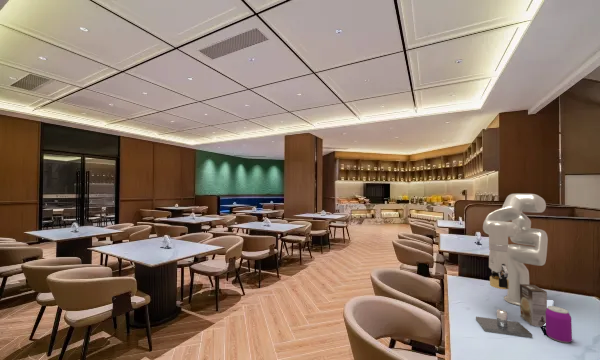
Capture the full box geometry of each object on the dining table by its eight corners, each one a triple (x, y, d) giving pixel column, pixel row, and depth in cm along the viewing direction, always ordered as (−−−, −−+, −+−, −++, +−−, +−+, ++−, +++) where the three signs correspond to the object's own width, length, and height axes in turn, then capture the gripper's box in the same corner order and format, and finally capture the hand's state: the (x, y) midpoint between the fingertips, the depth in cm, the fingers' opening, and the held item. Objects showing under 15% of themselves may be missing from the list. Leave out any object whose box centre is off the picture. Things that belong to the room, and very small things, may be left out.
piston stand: (518, 325, 119) (518, 308, 119) (532, 338, 108) (531, 319, 109) (475, 319, 124) (475, 303, 124) (485, 331, 113) (484, 313, 114)
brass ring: (504, 284, 130) (504, 276, 130) (511, 290, 123) (511, 281, 123) (487, 283, 132) (487, 275, 132) (493, 288, 125) (493, 279, 125)
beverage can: (567, 336, 110) (566, 307, 111) (575, 346, 103) (574, 315, 104) (543, 331, 114) (542, 303, 114) (549, 340, 107) (549, 310, 107)
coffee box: (519, 316, 128) (518, 283, 128) (534, 318, 126) (533, 284, 127) (532, 326, 119) (531, 290, 119) (548, 327, 117) (547, 291, 118)
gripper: (482, 244, 138) (483, 278, 137) (497, 250, 121) (498, 289, 120) (499, 245, 135) (500, 279, 135) (516, 252, 119) (517, 291, 118)
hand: (499, 284), depth 127 cm, fingers closed on brass ring, 7 cm apart
